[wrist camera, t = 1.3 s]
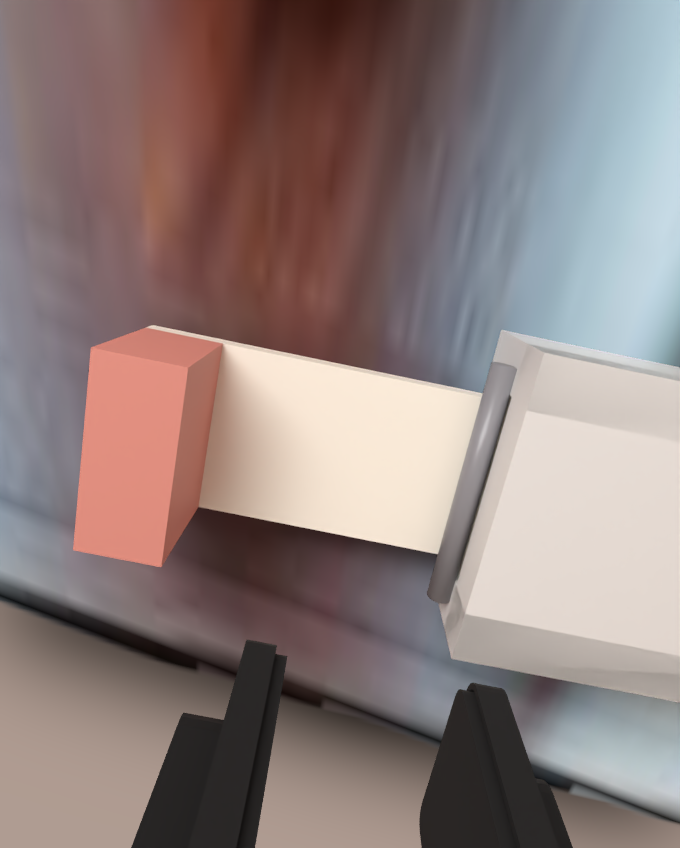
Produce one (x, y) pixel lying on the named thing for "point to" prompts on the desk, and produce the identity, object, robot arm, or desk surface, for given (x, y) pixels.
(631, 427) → the block
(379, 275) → the desk surface
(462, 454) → the long cream plank
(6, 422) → the desk surface
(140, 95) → the desk surface
